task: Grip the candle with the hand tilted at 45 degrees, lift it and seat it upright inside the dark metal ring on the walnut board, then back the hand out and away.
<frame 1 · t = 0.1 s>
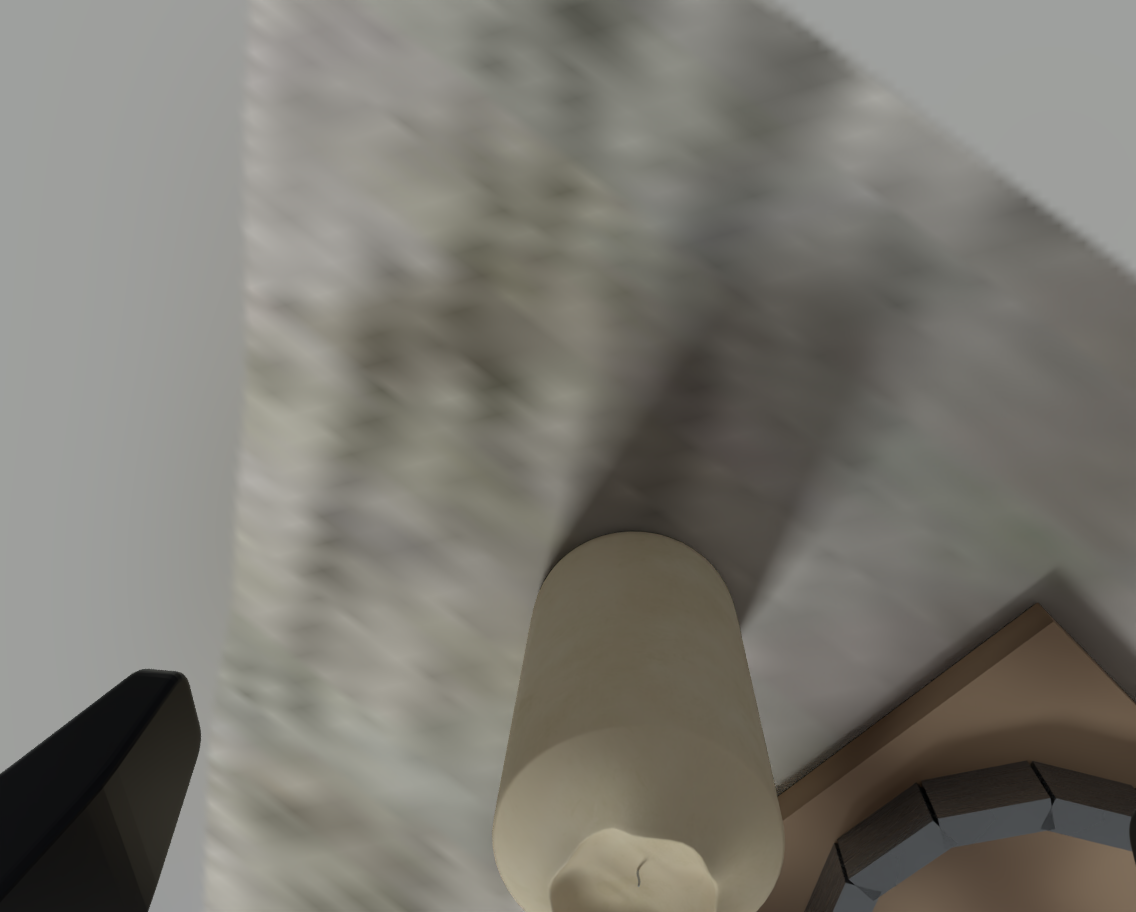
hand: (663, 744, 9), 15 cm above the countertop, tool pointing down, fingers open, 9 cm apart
dock: (988, 897, 28), on the countertop
candle: (633, 616, 26), on the countertop
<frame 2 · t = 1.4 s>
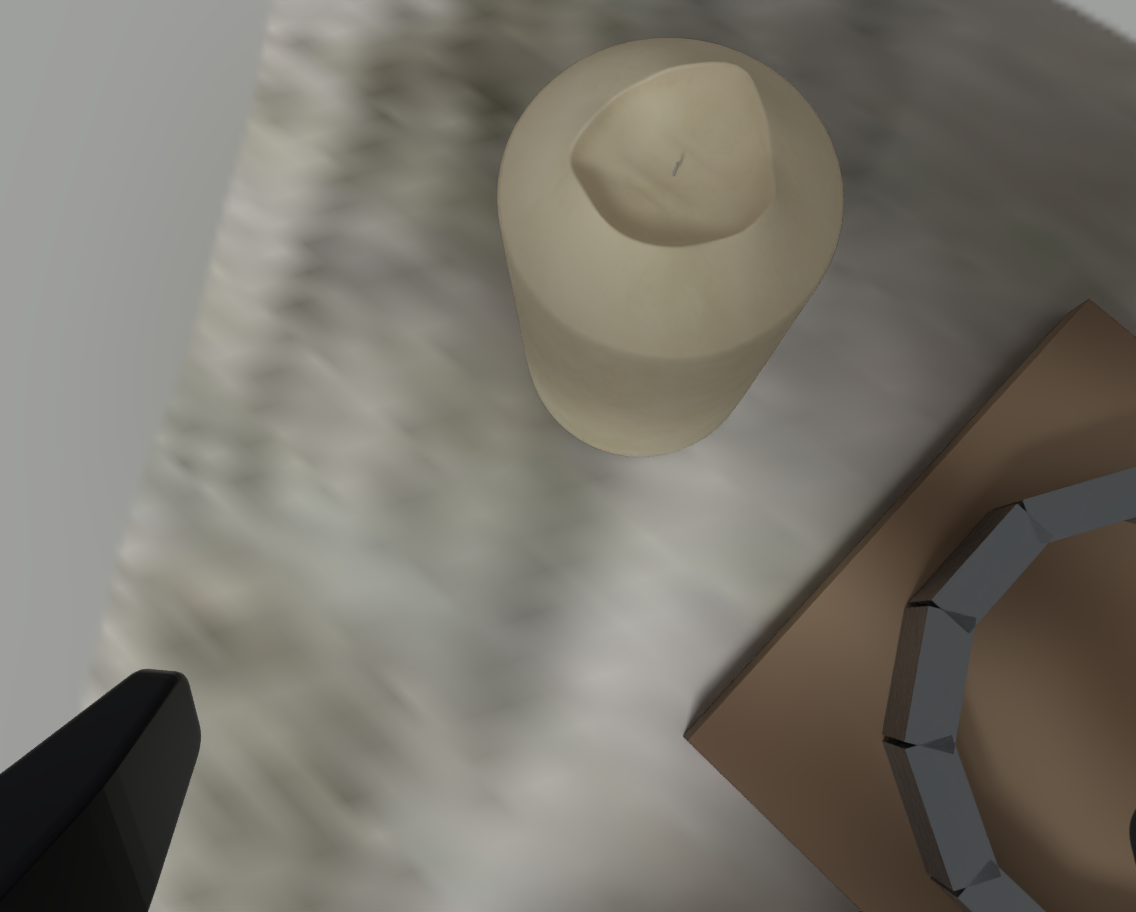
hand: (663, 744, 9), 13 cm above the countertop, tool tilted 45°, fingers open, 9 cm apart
dock: (1118, 728, 22), on the countertop
candle: (638, 352, 24), on the countertop
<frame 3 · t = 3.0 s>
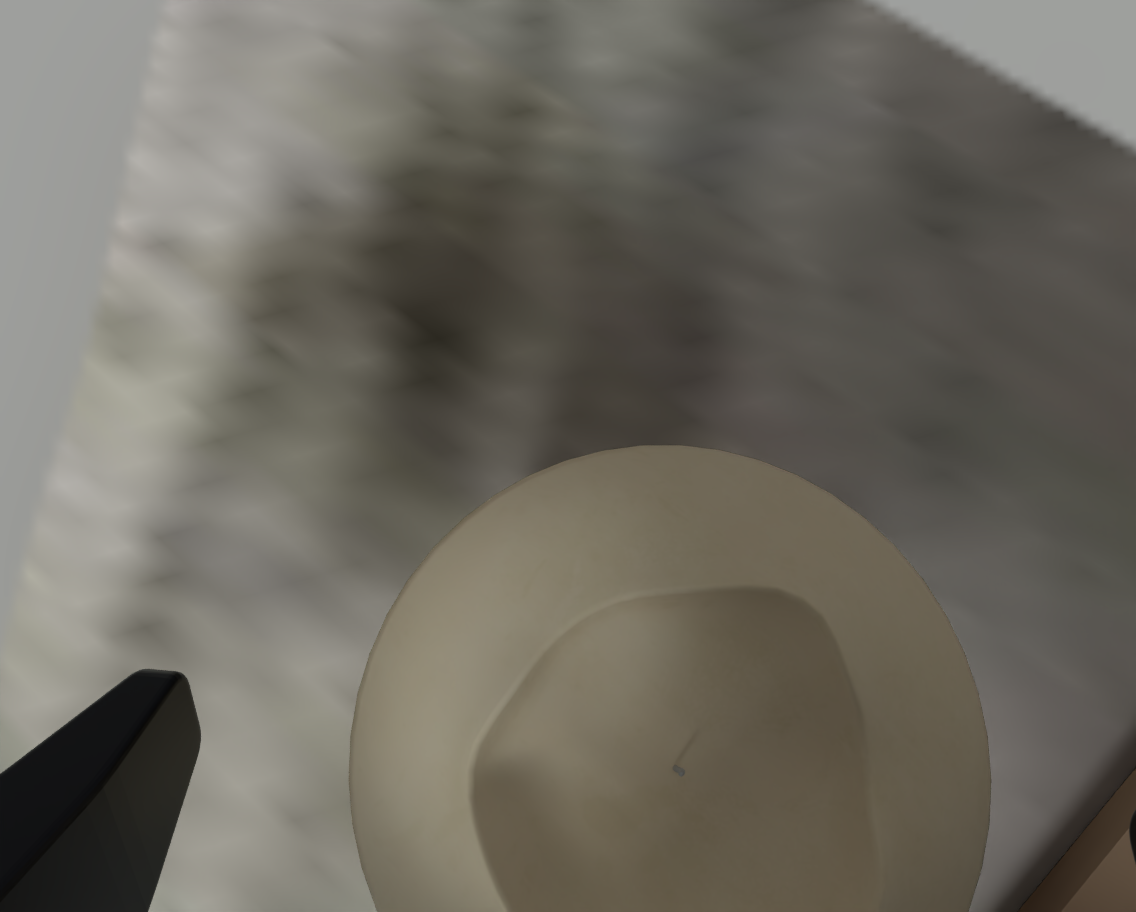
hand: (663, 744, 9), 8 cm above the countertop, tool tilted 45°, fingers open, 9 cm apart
candle: (623, 700, 17), on the countertop
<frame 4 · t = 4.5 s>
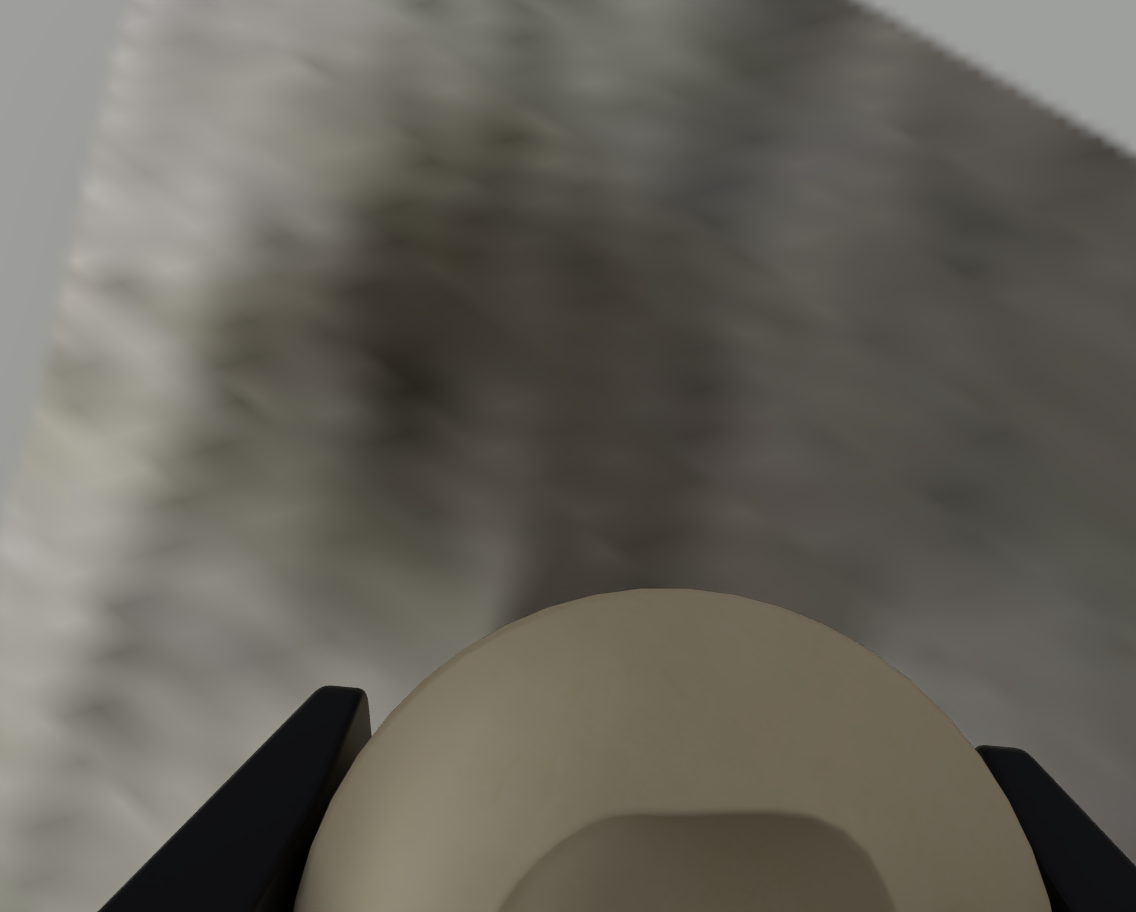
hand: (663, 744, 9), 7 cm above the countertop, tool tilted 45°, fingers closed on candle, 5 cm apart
candle: (621, 788, 15), on the countertop, touching gripper
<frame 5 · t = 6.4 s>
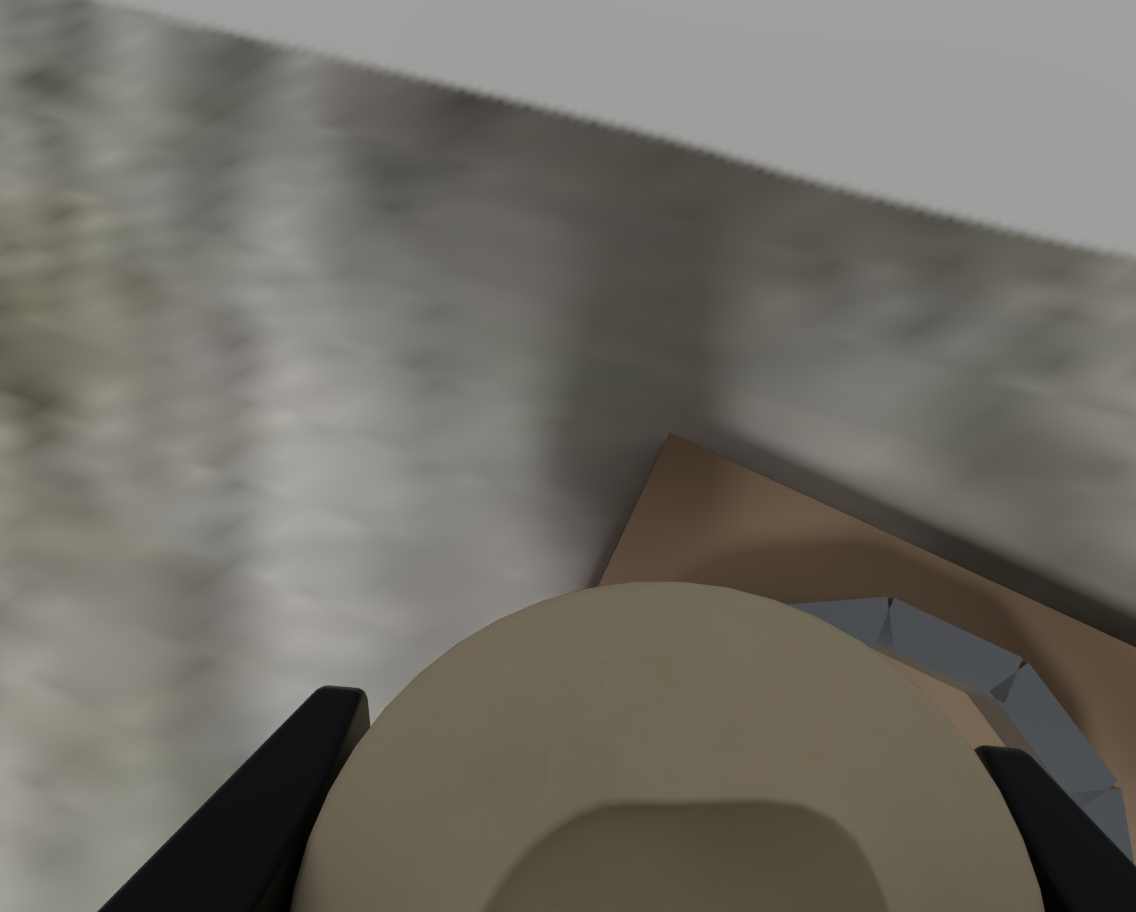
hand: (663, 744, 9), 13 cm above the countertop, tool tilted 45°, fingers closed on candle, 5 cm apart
dock: (822, 853, 21), on the countertop
candle: (621, 783, 15), point 6 cm above the countertop, touching gripper
when the fingers open (8 cm above the countertop, at t = 8.5 s): candle stays where it is, resting on dock.
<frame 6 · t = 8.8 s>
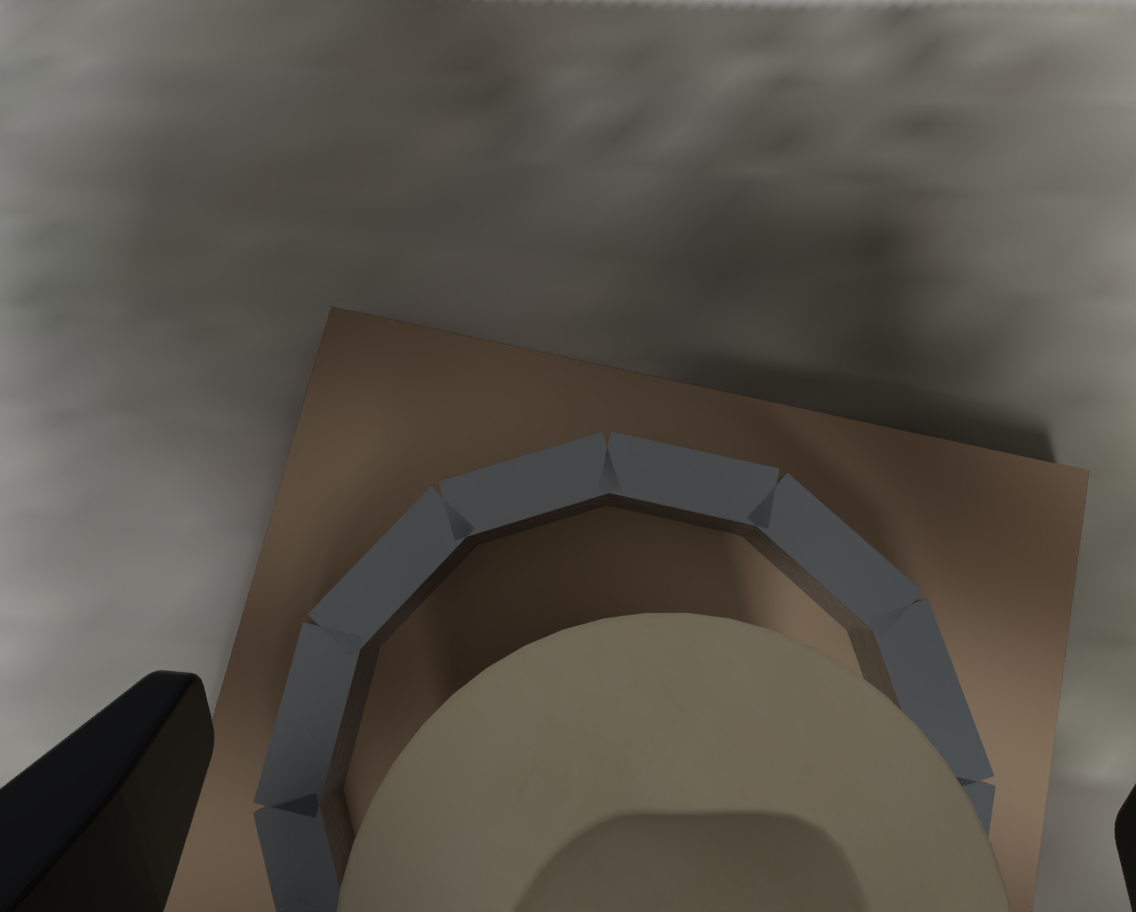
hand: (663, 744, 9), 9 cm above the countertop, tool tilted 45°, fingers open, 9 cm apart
dock: (617, 771, 17), on the countertop
candle: (625, 789, 16), point 1 cm above the countertop, touching dock
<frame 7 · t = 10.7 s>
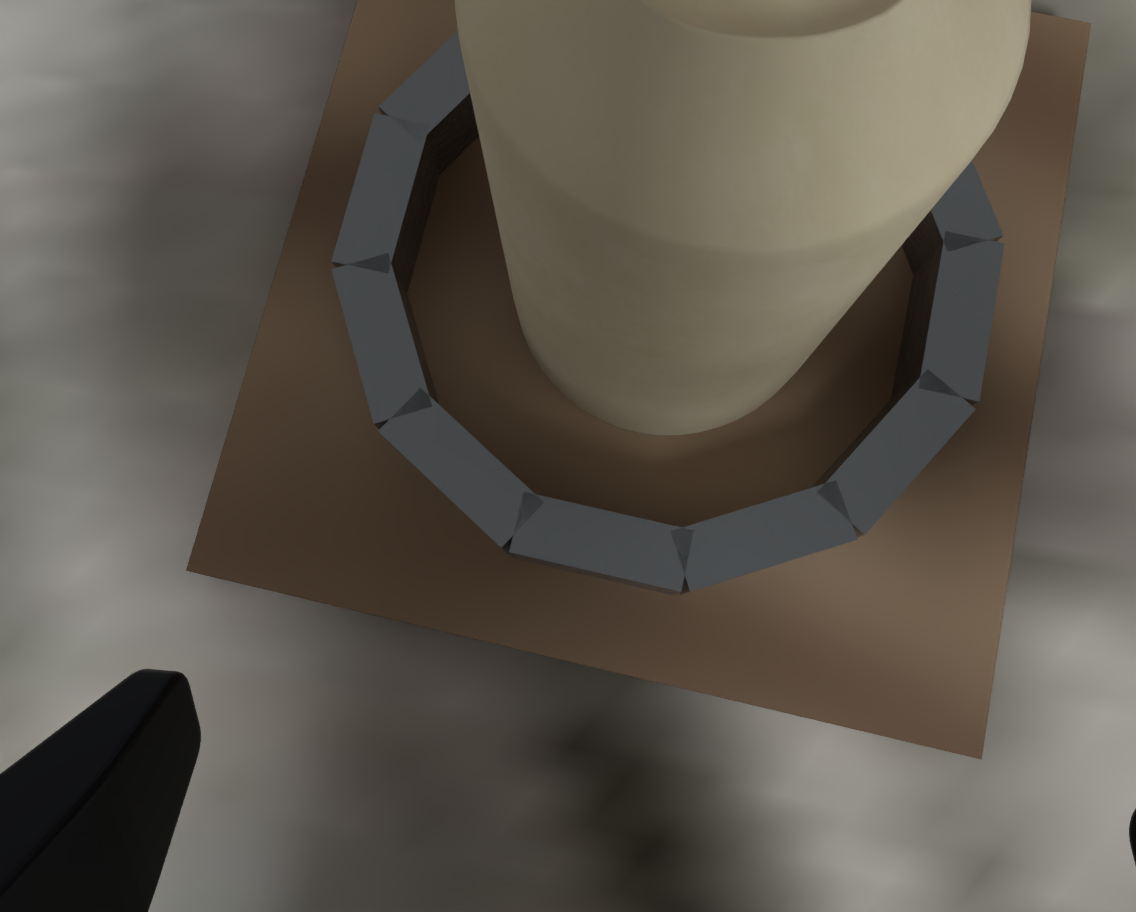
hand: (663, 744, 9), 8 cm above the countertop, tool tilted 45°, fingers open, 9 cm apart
dock: (655, 302, 18), on the countertop
candle: (664, 297, 18), point 1 cm above the countertop, touching dock
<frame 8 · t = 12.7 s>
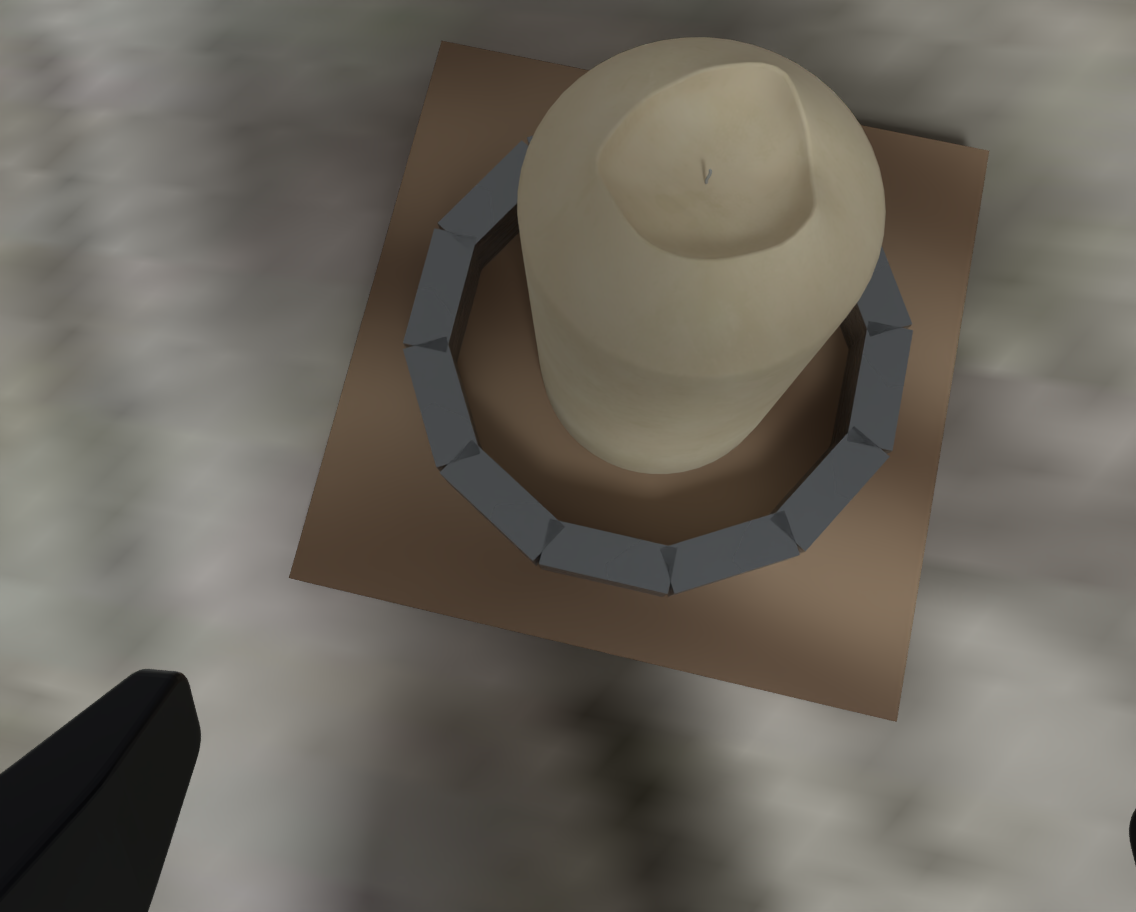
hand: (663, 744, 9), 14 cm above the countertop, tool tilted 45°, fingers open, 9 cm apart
dock: (649, 368, 24), on the countertop
candle: (656, 365, 23), point 1 cm above the countertop, touching dock
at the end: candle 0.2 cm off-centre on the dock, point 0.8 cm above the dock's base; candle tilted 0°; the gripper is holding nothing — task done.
